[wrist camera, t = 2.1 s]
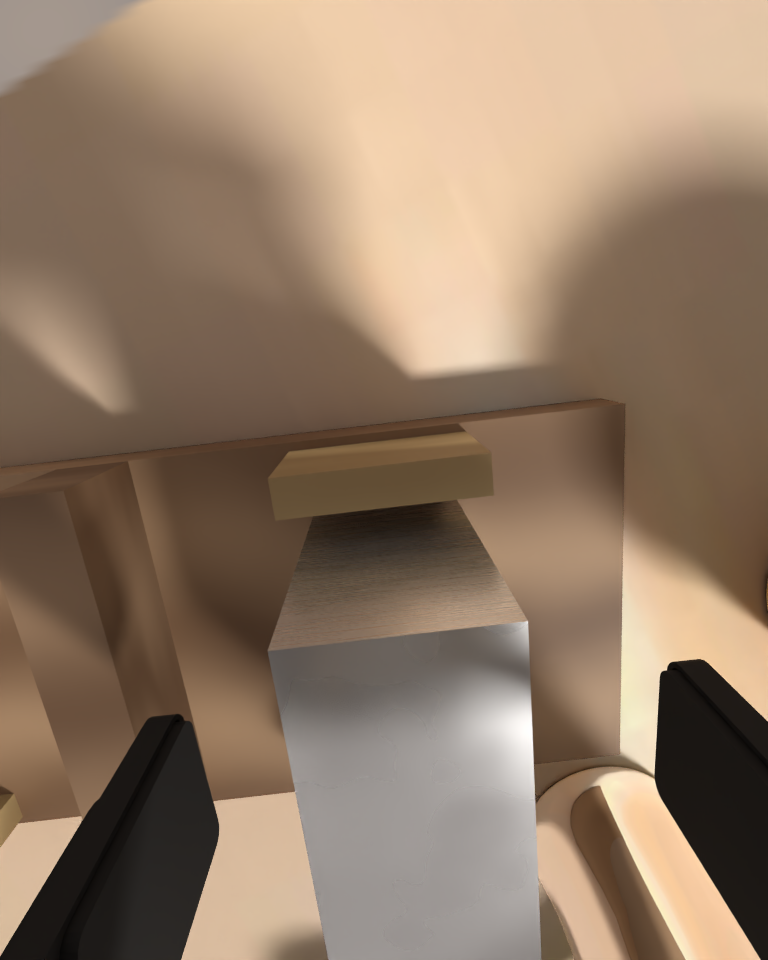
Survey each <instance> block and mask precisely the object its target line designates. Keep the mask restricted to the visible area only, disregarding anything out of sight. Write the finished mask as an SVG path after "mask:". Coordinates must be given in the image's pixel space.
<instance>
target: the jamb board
mask: <svg viewBox="0 0 768 960" xmlns="http://www.w3.org/2000/svg"><path fill="white" fill-rule="evenodd" d="M624 442H625V404H623V403H618V402H613V401H609V400H604V399H595V400H586V401H577V402H569V403H560V404H551V405H543V406H534V407H525V408H516V409H508V410H499V411H490V412H482V413H473V414H464V415H456V416H447V417H438V418H430V419H421V420H412V421H404V422H395V423H386V424H377V425H369V426H360V427H351V428H343V429H334V430H325V431H317V432H308V433H299V434H291V435H282V436H273V437H264V438H256V439H247V440H238V441H230V442H221V443H212V444H204V445H195V446H186V447H178V448H169V449H160V450H152V451H143V452H134V453H125V454H117V455H108V456H99V457H91V458H82V459H73V460H65V461H56V462H47V463H39V464H30V465H21V466H12V467H4V468H0V847H1V846H2V844H3V843H4V842H5V840H6V839H7V838H8V836H9V835H10V834H11V832H12V831H13V829H14V828H15V827H16V825H17V824H18V823H25V822H34V821H43V820H51V819H60V818H69V817H78V816H82V819H84V818H85V816H86V814H87V813H88V811H89V809H90V808H91V807H92V805H93V804H94V803H95V802H96V801H97V800H98V799H99V798H100V797H101V795H102V793H103V792H104V790H105V788H106V787H107V785H108V783H109V782H110V780H111V778H112V777H113V775H114V773H115V772H116V770H117V768H118V767H119V765H120V763H121V762H122V760H123V758H124V757H125V755H126V753H127V752H128V750H129V748H130V747H131V745H132V743H133V742H134V740H135V738H136V737H137V735H138V733H139V732H140V730H141V728H142V727H143V725H144V723H145V722H146V721H147V719H148V718H150V717H153V716H162V715H172V714H181V715H182V716H183V718H184V721H190V722H191V723H192V725H193V728H194V732H195V736H196V739H197V743H198V747H199V751H200V754H201V758H202V762H203V765H204V769H205V773H206V777H207V780H208V784H209V788H210V792H211V795H212V799H213V801H217V800H226V799H235V798H243V797H252V796H261V795H269V794H278V793H287V792H295V788H294V783H293V778H292V772H291V767H290V762H289V757H288V752H287V747H286V742H285V737H284V732H283V727H282V722H281V717H280V712H279V706H278V701H277V696H276V691H275V686H274V681H273V676H272V671H271V666H270V661H269V656H268V648H269V645H270V642H271V639H272V637H273V634H274V631H275V628H276V625H277V622H278V619H279V616H280V613H281V610H282V607H283V604H284V601H285V598H286V595H287V592H288V589H289V586H290V583H291V580H292V577H293V574H294V571H295V568H296V566H297V563H298V560H299V557H300V554H301V551H302V548H303V545H304V542H305V539H306V536H307V533H308V530H309V527H310V524H311V521H312V518H313V516H321V515H329V514H338V513H347V512H355V511H364V510H373V509H381V508H390V507H399V506H408V505H416V504H425V503H434V502H442V501H451V500H457V501H458V502H459V504H460V506H461V507H462V509H463V511H464V513H465V514H466V516H467V518H468V519H469V521H470V523H471V525H472V526H473V528H474V530H475V531H476V533H477V535H478V537H479V538H480V540H481V542H482V543H483V545H484V547H485V548H486V550H487V552H488V554H489V555H490V557H491V559H492V560H493V562H494V564H495V566H496V567H497V569H498V571H499V572H500V574H501V576H502V578H503V579H504V581H505V583H506V584H507V586H508V588H509V589H510V591H511V593H512V595H513V596H514V598H515V600H516V601H517V603H518V605H519V607H520V608H521V610H522V612H523V613H524V615H525V617H526V619H527V620H528V633H529V658H530V683H531V708H532V733H533V759H534V764H540V763H549V762H557V761H566V760H575V759H584V758H592V757H601V756H610V755H618V754H620V700H621V635H622V571H623V507H624Z"/></svg>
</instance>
